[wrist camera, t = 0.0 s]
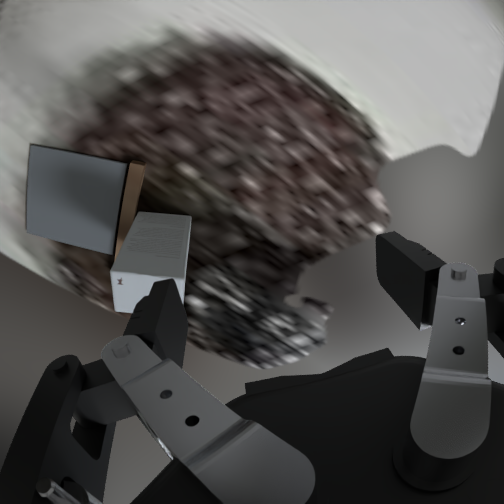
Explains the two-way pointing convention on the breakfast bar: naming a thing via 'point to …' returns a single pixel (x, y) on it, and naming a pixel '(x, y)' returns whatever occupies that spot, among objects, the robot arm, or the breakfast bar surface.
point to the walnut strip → (130, 201)
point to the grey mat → (74, 197)
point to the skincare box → (150, 257)
